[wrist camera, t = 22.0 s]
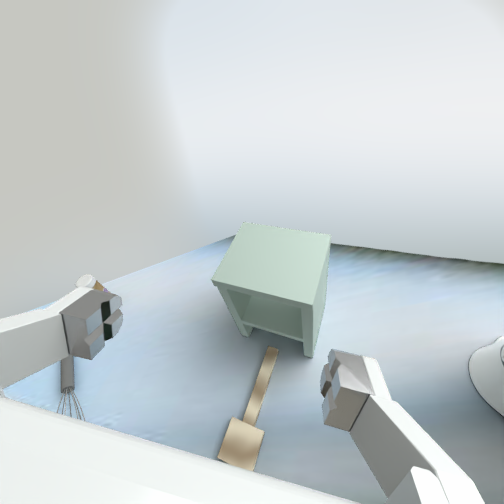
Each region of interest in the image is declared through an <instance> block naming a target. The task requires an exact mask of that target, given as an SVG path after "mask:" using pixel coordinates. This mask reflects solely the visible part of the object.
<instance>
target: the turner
mask: <svg viewBox="0 0 504 504" xmlns="http://www.w3.org/2000/svg"><path fill="white" fill-rule="evenodd" d="M278 352H279V351H278V349H277V348H273V347H270V346H268V348H267V351H266V354H265V357H264V360H263V363H262V365H261V368H260V371H259V374H258V377H257V380H256V383H255V386H254V389H253V392H252V394H251V397H250V400H249V403H248V406H247V409H246V412H245V415H244V418H243V421H241V420H238V419H236V418H234V417H232V418H231V421H230V424H229V427H228V429H227V432H226V435H225V437H224V440H223V443H222V446H221V448H220V451H219V454H218V456H217V458H219V459H221V460H223V461H225V462H226V463H228V464H230V465H233V466H236V467H240V468H243V469H246V470H250V471H253V470H254V467H255V464H256V460H257V457H258V453H259V450H260V447H261V443H262V440H263V436H264V433H265V432H264V431H262V430H260V429H258V428H256V427H255V425H256V421H257V418H258V415H259V412H260V409H261V406H262V402H263V399H264V396H265V393H266V390H267V387H268V384H269V380H270V377H271V374H272V371H273V368H274V365H275V361H276V358H277V355H278Z"/></svg>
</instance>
